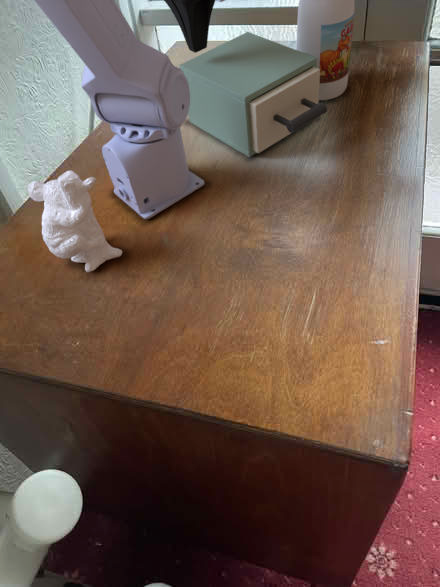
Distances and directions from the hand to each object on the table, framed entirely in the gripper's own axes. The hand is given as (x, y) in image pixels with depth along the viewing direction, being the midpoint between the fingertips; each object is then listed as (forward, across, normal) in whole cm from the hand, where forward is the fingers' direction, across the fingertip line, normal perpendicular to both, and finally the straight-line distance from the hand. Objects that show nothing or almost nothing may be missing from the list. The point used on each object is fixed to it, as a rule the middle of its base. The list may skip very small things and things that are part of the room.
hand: (198, 48), depth 62 cm
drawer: (+10, -9, -4) cm, 13 cm away
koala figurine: (+11, -12, +27) cm, 32 cm away
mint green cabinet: (+10, -5, -4) cm, 12 cm away
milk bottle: (+11, -7, -17) cm, 21 cm away
